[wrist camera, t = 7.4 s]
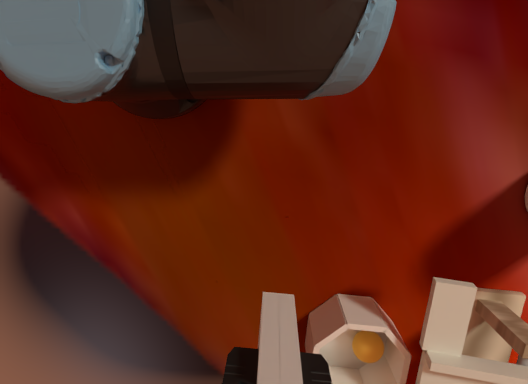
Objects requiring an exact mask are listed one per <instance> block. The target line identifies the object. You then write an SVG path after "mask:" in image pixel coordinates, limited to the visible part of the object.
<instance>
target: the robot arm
mask: <svg viewBox="0 0 528 384" xmlns="http://www.w3.org/2000/svg"><path fill="white" fill-rule="evenodd" d="M395 8H396V1H395V0H0V69H1V70H2V71H3V72H4V73H5V75H6V77H8V78H9V79H10V80H11V81H13V82H14V83H16V84H17V85H19V86H21V87H22V88H24V89H26V90H28V91H30V92H33V93H36V94H38V95H42V96H45V97H50V98H52V99H55V100H60V101H62V102H67V103H80V102H88V101H113V102H114V103H115V104H117V105H118V106H119V107H121V108H123V109H124V110H126V111H128V112H130V113H133V114H135V115H138V116H141V117H146V118H152V119H164V118H173V117H177V116H181V115H184V114H186V113H188V112H190V111H192V110H194V109H195V108H197V107H198V106H199V105H201V104H202V103H203V102H204V101H205V100H206V99H300V100H304V99H307V100H308V99H311V98H314V97H319V96H331V95H341V94H345V93H348V92H351V91H353V90H354V89H356V88H357V87H358V86H359V85H361V84H362V83H363V82H364V81H365V79H366V78H367V77H368V76H369V74H370V73H371V71H372V70H373V68H374V66H375V64H376V62H377V61H378V59H379V56H380V54H381V52H382V50H383V47H384V45H385V42H386V39H387V37H388V34H389V31H390V27H391V24H392V20H393V17H394V13H395ZM222 384H332V380H331V376H330V371H329V366H328V363H327V361H326V360H325V359H324V357H323V356H322V355H321V354H314V353H303V352H300V349H299V339H298V329H297V319H296V309H295V299H294V295H291V294H280V293H270V292H263V297H262V308H261V319H260V329H259V340H258V349H251V348H241V347H234V348H233V349H232V351H231V352H230V353H229V354H228V357H227V362H226V367H225V373H224V378H223V383H222Z"/></svg>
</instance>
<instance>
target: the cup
mask: <svg viewBox="0 0 528 384" xmlns="http://www.w3.org/2000/svg"><path fill="white" fill-rule="evenodd" d="M309 314H310V315H309V316H308V324H307V331H306V339H305V349H306V353H314V354H321V355H322V356H323V357H324V359H325V360H326V361H327V363H328V366H329V371H330V376H331V380H332V384H406V380H407V375H408V370H409V365H410V361H411V354H410V352H409V351H408V349H407V347H406V345H405V343H404V342H403V340H402V338H401V336H400V334H399V332H398V331H397V329H396V327H395V325H394V323H393V322H392V320H391V319H390V318H389V317H388V316H387V314H386V313H385V312H384V311H383V310H382V308H381V307H380V306H379V305H378V304H377V302H376V301H375V300H374V299H373V298H372V297H366V296H356V295H345V294H337V295H334V296H333V297H331V298H330V299H329V300H327V301H326V302H324V303H323V304H322V305H320V306H319V307H317V308H316V309H315V310H313V311H312V312H310V313H309ZM362 330H363V331H373V332H375V333H377V334H378V335H379V336H380V337H381V339H382V341H383V344H384V353H383V355H382V357H381V358H380V359H379V360H378V361H377V362H374V363H365V362H363V361H361V360H359V359H358V358H357V357H356V355H355V354H354V352H353V348H352V341H353V338H354V336H355V335H356V334H357V333H358V332H360V331H362Z"/></svg>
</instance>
